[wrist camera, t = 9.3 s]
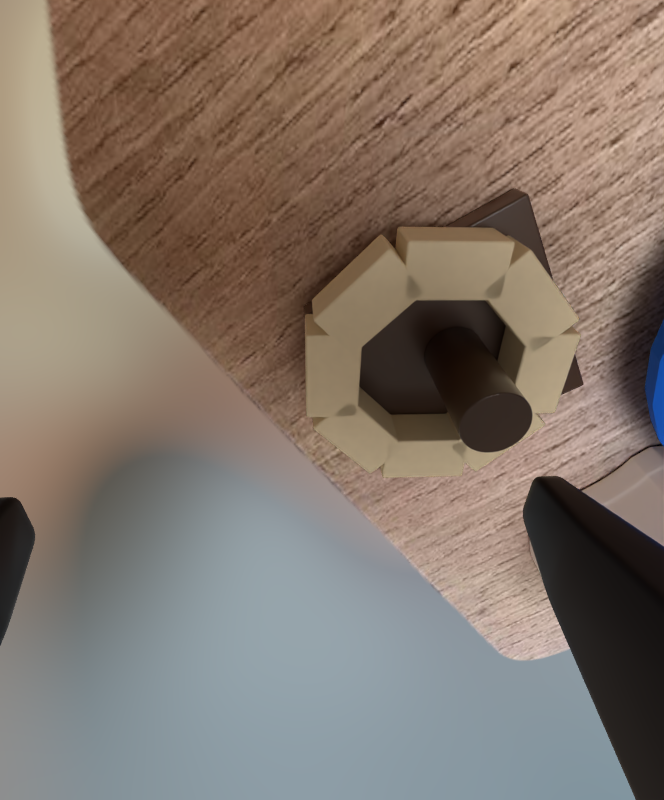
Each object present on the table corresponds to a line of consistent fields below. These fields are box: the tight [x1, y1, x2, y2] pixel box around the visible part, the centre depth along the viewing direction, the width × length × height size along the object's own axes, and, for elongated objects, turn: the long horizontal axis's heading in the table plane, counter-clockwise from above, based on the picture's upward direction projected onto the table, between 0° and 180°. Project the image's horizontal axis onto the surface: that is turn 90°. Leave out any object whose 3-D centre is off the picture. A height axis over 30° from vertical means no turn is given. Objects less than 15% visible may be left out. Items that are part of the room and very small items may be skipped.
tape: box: [305, 227, 581, 478], centre depth 18 cm, size 10×10×2 cm
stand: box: [304, 189, 583, 453], centre depth 18 cm, size 9×9×6 cm
